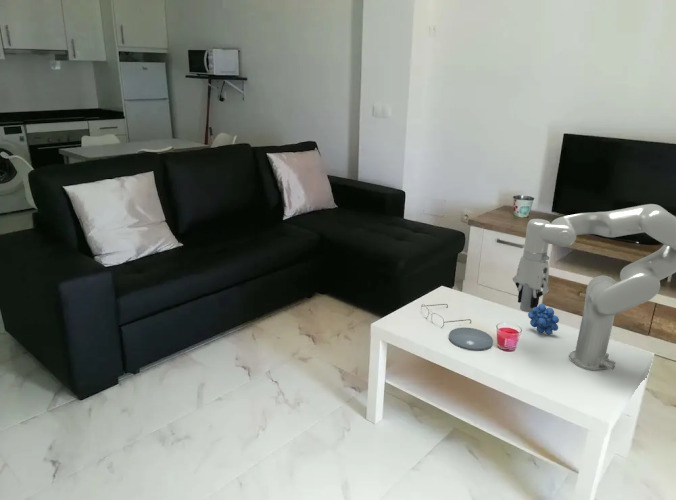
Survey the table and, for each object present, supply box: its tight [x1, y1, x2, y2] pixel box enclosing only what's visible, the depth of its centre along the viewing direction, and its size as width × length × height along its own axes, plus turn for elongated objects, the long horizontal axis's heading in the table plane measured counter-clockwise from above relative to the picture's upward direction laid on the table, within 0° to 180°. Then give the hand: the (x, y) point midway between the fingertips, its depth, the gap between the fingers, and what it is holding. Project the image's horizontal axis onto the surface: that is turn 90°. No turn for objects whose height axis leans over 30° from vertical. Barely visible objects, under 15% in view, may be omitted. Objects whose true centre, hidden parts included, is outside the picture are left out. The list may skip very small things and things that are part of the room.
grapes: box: [527, 303, 560, 336], centre depth 200 cm, size 12×7×12 cm, turn 58°
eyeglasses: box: [420, 303, 472, 329], centre depth 212 cm, size 16×15×5 cm
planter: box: [519, 283, 534, 313], centre depth 183 cm, size 4×4×10 cm
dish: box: [448, 326, 494, 352], centre depth 195 cm, size 16×16×1 cm
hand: (527, 303), depth 184 cm, fingers closed on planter, 4 cm apart
